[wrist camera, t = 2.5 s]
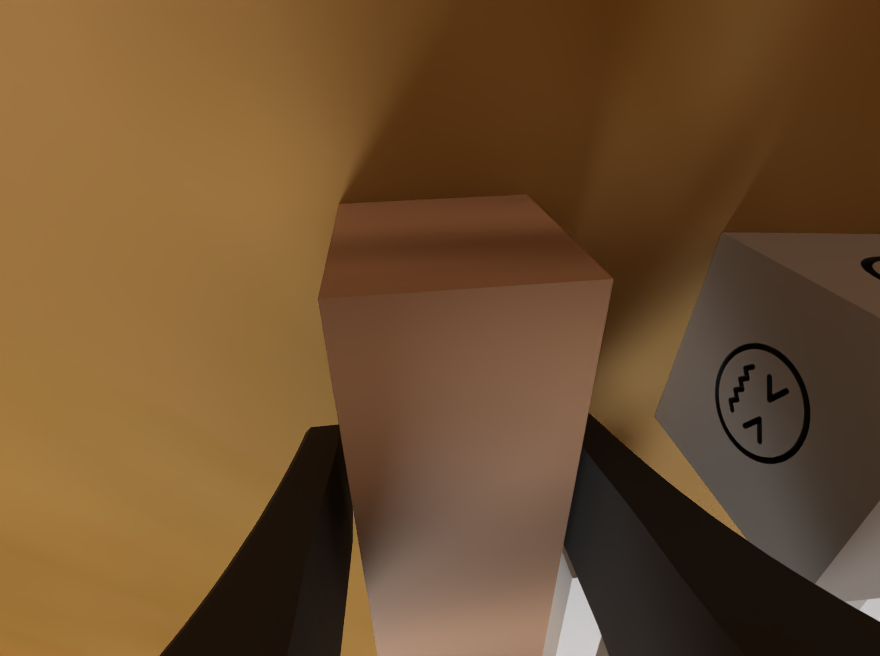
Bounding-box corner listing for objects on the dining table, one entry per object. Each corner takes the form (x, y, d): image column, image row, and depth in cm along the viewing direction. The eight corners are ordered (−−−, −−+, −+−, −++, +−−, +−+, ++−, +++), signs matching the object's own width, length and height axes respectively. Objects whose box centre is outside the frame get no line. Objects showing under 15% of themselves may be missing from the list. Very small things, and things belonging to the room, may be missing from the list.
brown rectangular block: (339, 200, 9) (318, 298, 5) (524, 191, 9) (613, 278, 6) (382, 539, 14) (385, 699, 11) (499, 525, 14) (538, 676, 11)
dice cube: (821, 407, 13) (1036, 581, 9) (652, 414, 12) (797, 606, 8) (925, 233, 11) (1298, 361, 6) (719, 231, 10) (978, 372, 6)
